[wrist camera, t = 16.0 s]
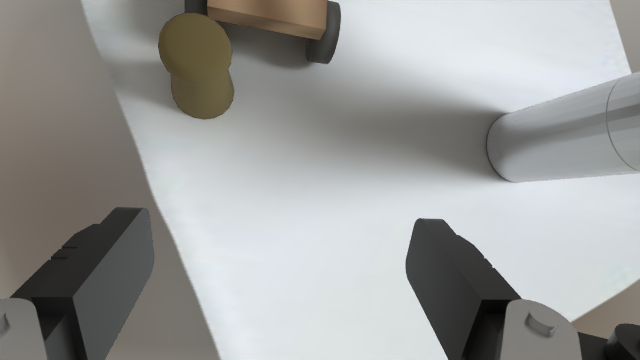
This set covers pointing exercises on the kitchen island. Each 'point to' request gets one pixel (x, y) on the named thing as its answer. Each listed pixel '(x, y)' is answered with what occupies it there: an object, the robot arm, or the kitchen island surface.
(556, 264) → the kitchen island surface
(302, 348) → the kitchen island surface
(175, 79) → the cork
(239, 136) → the kitchen island surface
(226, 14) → the trolley
